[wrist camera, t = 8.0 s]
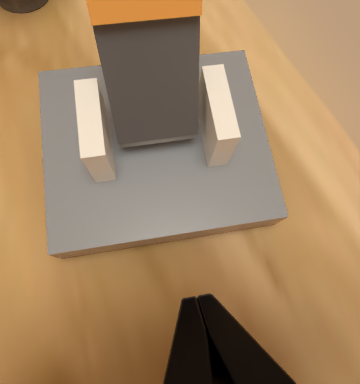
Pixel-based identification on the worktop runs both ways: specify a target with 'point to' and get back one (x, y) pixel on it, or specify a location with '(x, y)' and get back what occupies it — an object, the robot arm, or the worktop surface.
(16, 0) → the beverage cup
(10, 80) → the worktop surface
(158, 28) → the lever
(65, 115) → the breaker base
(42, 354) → the worktop surface
